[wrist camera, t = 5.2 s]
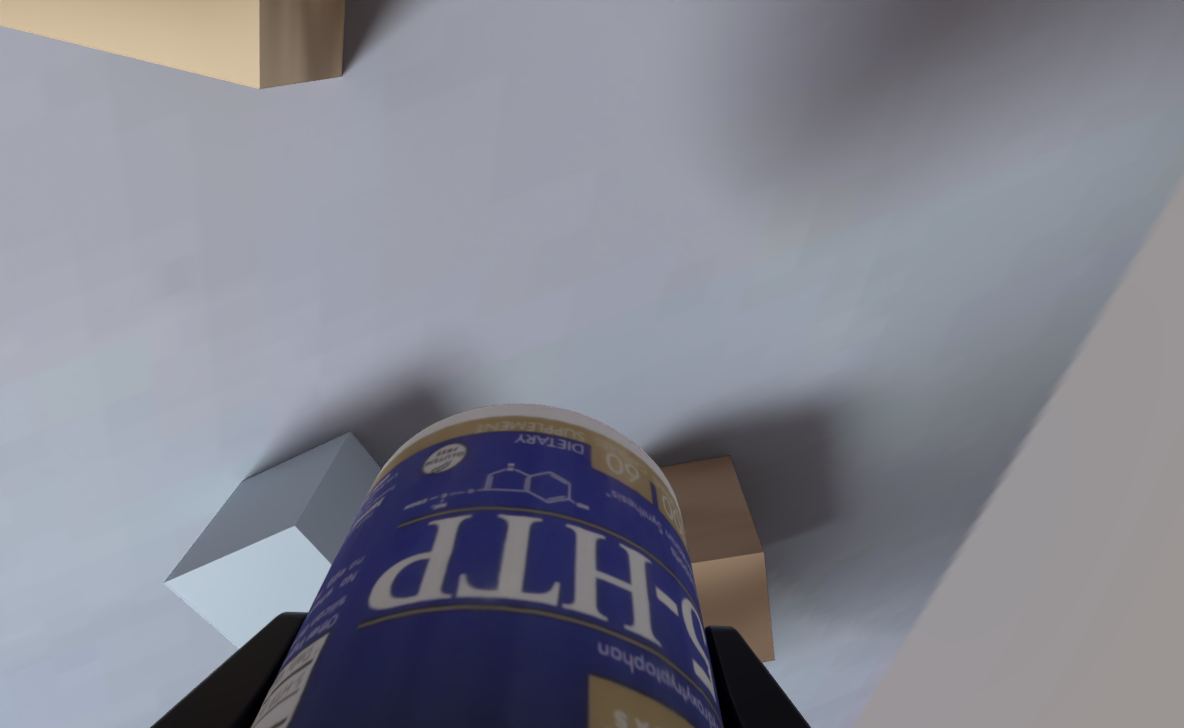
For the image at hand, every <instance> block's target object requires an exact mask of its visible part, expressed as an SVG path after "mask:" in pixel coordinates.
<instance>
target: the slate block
mask: <svg viewBox="0 0 1184 728" xmlns="http://www.w3.org/2000/svg"><path fill="white" fill-rule="evenodd" d="M381 470H382V469H381V468H380V466H379V465H378V464H377V463H376V462H375V460H374V459H373V458H372V457H371V455H370V454H369V453H368V452H367V451H366V449H365V448H364V447H363V446H362V444H361V443H360V442H359V441H358V439H357V438H356V437H355V436H354V435H353V433H352V432H351V431H350V432H348V433H345V434H343V435H341V436H339V437H337V438H335V439H332V440H330V441H328V442H326V443H324V444H322V445H320V446H317V447H315V448H313V449H311V450H309V451H307V452H304V453H302V454H300V455H298V456H296V457H294V458H292V459H289V460H287V461H285V462H283V463H281V464H279V465H276V466H274V467H272V468H270V469H268V470H266V471H263V472H261V473H259V474H257V475H255V476H253V477H251V478H248V479H246V480H244V481H242V482H241V483H240V484H239V486H238V487H237V488H236V490H235V491H234V492H233V493H232V495H231V496H230V497H229V499H228V500H227V501H226V503H225V504H224V505H223V506H222V508H221V509H220V510H219V512H218V513H217V514H216V516H215V517H214V518H213V519H212V521H211V522H210V523H209V525H208V526H207V527H206V529H205V530H204V531H203V532H202V534H201V535H200V536H199V538H198V539H197V540H196V542H195V543H194V544H193V545H192V547H191V548H190V549H189V551H188V552H187V553H186V555H185V556H184V557H183V558H182V560H181V561H180V562H179V564H178V565H177V566H176V568H175V569H174V570H173V571H172V573H171V574H170V575H169V577H168V578H167V579H166V580H165V582H164V584H165V585H166V586H167V587H169V588H170V589H171V590H172V591H173V592H174V593H175V594H177V595H178V596H179V597H180V598H181V599H182V600H183V601H185V602H186V603H187V604H188V605H189V606H190V607H191V608H193V609H194V610H195V611H196V612H197V613H198V614H199V615H201V616H202V617H203V618H204V619H205V620H206V621H207V622H209V623H210V624H211V625H212V626H213V627H214V628H215V629H216V630H218V631H219V632H220V633H221V634H222V635H223V636H224V637H226V638H227V639H228V640H229V641H230V642H231V643H232V644H234V645H235V646H236V647H237V648H238V649H240V648H241V647H242V646H243V645H244V644H245V643H247V642H248V641H249V640H250V639H251V638H252V637H253V636H255V635H256V634H257V633H258V632H259V631H260V630H261V629H262V628H264V627H265V626H266V625H267V624H268V623H269V622H270V621H272V620H273V619H274V618H275V617H276V616H277V615H279V614H281V613H283V612H309V610H310V608H311V606H312V604H313V602H314V600H315V598H316V596H317V594H318V591H319V589H320V587H321V585H322V583H323V581H324V579H325V577H326V575H327V573H328V571H329V569H330V567H331V565H332V563H333V561H334V559H335V557H336V555H337V554H338V552H339V550H340V548H341V546H342V544H343V542H344V540H345V538H346V536H347V534H348V532H349V530H350V527H351V525H352V523H353V521H354V519H355V517H356V515H357V514H358V512H359V510H360V508H361V506H362V503H363V501H364V499H365V498H366V496H367V494H368V492H369V490H370V489H371V487H372V485H373V483H374V482H375V480H376V478H377V476H378V474H379V473H380V471H381Z"/></svg>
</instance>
